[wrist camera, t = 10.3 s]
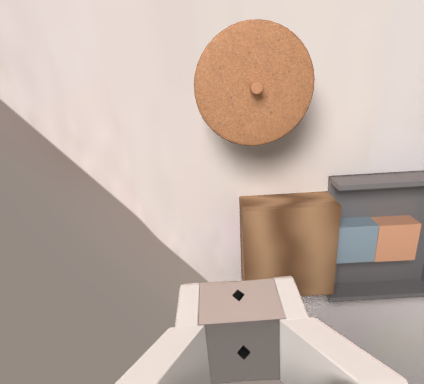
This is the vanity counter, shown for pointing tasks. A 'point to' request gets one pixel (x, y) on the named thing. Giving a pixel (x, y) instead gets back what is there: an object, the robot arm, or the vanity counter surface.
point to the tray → (377, 207)
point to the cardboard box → (291, 239)
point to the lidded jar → (254, 82)
